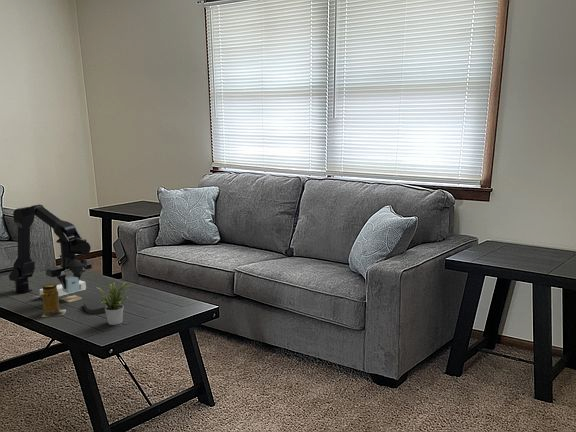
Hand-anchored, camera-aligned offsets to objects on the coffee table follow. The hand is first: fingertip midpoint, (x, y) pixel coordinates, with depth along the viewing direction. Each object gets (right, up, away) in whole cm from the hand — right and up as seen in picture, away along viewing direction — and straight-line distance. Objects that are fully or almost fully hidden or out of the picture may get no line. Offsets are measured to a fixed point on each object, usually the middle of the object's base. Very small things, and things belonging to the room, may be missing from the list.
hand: (70, 287), depth 239 cm
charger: (-1, -1, +1) cm, 2 cm away
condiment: (0, -9, -17) cm, 19 cm away
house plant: (+29, -10, -28) cm, 42 cm away
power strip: (-8, -4, +7) cm, 12 cm away
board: (0, -5, +1) cm, 5 cm away
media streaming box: (+18, -8, -9) cm, 21 cm away
